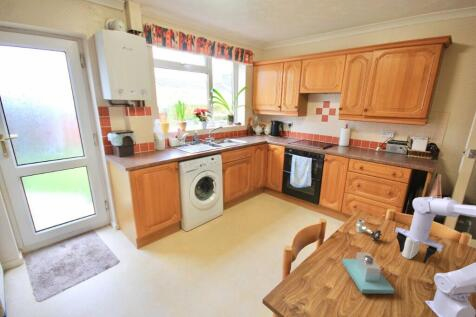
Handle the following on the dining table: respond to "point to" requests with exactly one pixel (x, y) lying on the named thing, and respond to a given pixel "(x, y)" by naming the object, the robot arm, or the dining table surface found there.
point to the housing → (367, 267)
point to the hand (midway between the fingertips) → (412, 256)
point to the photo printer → (410, 248)
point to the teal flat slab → (367, 286)
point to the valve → (367, 230)
